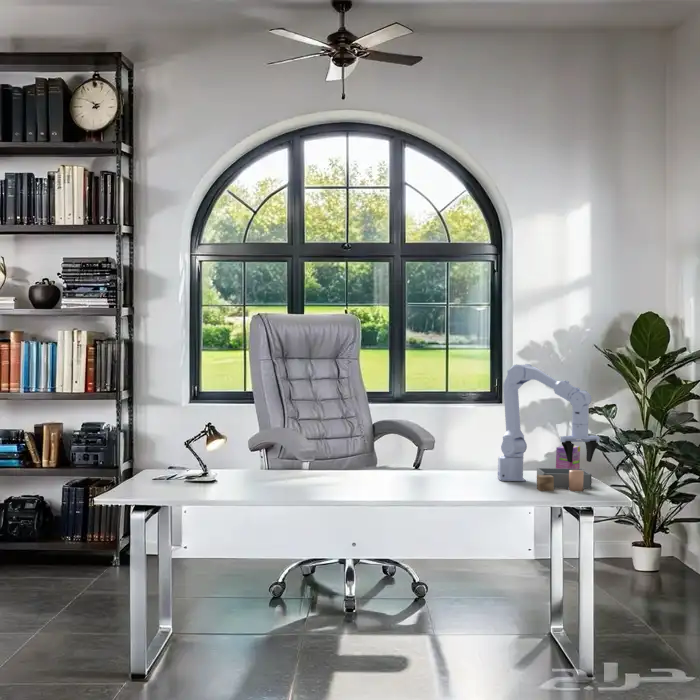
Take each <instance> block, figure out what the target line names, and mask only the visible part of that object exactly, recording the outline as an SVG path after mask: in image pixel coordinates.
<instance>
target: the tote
mask: <svg viewBox="0 0 700 700" xmlns="http://www.w3.org/2000/svg"><path fill="white" fill-rule="evenodd" d="M569 470H582V471H584V479H583V489H592V474H591V473H590V472H588V471H586V469H583V468H579V469H560V468H556V467H554V468H553V467H552V468H549V467H547V468H546V467H536V476H537V475H552V476H553V477H554V488H555V487H558V488H559V489H560V488H564V489H567V488H568V489H569Z"/></svg>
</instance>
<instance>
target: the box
mask: <svg viewBox="0 0 700 700" xmlns="http://www.w3.org/2000/svg"><path fill="white" fill-rule="evenodd" d="M555 454H556V455H555V468H560V469H580V460H581V446H580V445H575V444H574V447H573V453H572V462H568V461H567V456H566V452H565V450H564V447H563V445H560V446H558V447H557V446H556V450H555Z"/></svg>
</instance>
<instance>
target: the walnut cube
mask: <svg viewBox="0 0 700 700" xmlns="http://www.w3.org/2000/svg"><path fill="white" fill-rule="evenodd" d="M536 489H537V490H538V491H539V492H554V477H553V476H552V475H537V474H536Z"/></svg>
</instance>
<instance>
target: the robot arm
mask: <svg viewBox="0 0 700 700" xmlns="http://www.w3.org/2000/svg"><path fill="white" fill-rule="evenodd" d="M506 373H507V375H506V377H505V379H504V382H503V399H504V400H503V402H504V417H505V419H504V420H505V433H504V434H503V436H502V442H501V445H500V447H501V448H500V450H501V452H502V454H503V456H498V457H497V479H498V480H499V481H503V482H526V479H525V477H524V453H525V452H526V450H527V448H528V446H527V442H526V440H525V435H524V433H523V432H522V431H521V416H520V400H519V389H520V388H521V387H522V386H523V385H524V384H526V383H527V382H529V381H532V380H533V381H534V380H535V381H537V382H539V383H541V384H543V385H545V386H547V387H549V388H551V389H553V391H554V394H555V395H557V396H558V397H560V398H562V399H564V400H565V401H567V402H568V403H570V405H571V407H572V411H571V414H572V415H571V416H572V417H571V418H572V419H571V435H562V436H560V438H559V439H560V440H559V441H560V443H561V446H563V447H564V450H565V452H566V456H567V461H568V462H572V453H573V447H574V445H575V444H574V442H575V443H579V442H580V443H583V442H585V448H586V450H585V451H586V455H585V456H586V462H589V463H592V460H593V456H594V453H595V451H596V449H597V447H598V446H599V442H600V436H599V435H589V418H590V417H589V412H590V411H589V407H590V405H591V403H592V395H591V393H589V391H588V390H585V389H584V390H583V389H582V390H581V388H580V387H578V386H574V385H573V384H571V383H570V381H569V380H568V379H567V380H566V379H565V380H564V379H561V380H557V379H556V378H554V377H552V376H551V375H549V374H548V373H546V372H544V371H543V370H541V369H539V368H538V367H536V366H533V365H531V364H529V363H525V364H513V365H512V366H510V367H509V369H507V371H506Z"/></svg>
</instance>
